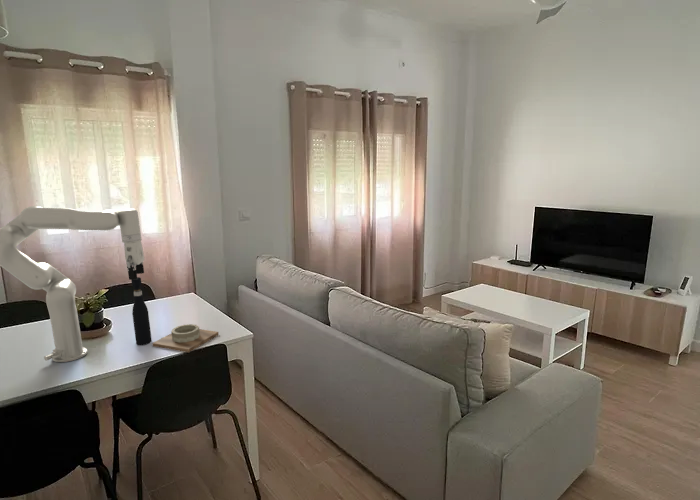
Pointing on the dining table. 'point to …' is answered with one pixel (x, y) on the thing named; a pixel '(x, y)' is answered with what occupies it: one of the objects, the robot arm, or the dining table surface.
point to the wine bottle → (140, 315)
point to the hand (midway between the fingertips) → (136, 276)
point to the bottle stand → (185, 338)
